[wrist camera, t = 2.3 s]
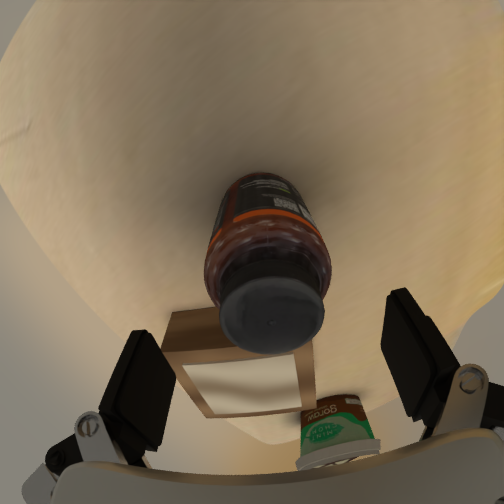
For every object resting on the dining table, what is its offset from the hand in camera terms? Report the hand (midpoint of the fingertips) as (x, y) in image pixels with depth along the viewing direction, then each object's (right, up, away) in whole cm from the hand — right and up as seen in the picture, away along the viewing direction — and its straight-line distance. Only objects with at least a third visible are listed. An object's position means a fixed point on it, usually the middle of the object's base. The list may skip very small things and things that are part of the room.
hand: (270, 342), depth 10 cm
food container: (+9, -18, +24) cm, 31 cm away
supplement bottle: (0, +6, +10) cm, 12 cm away
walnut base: (-1, -6, +17) cm, 18 cm away
